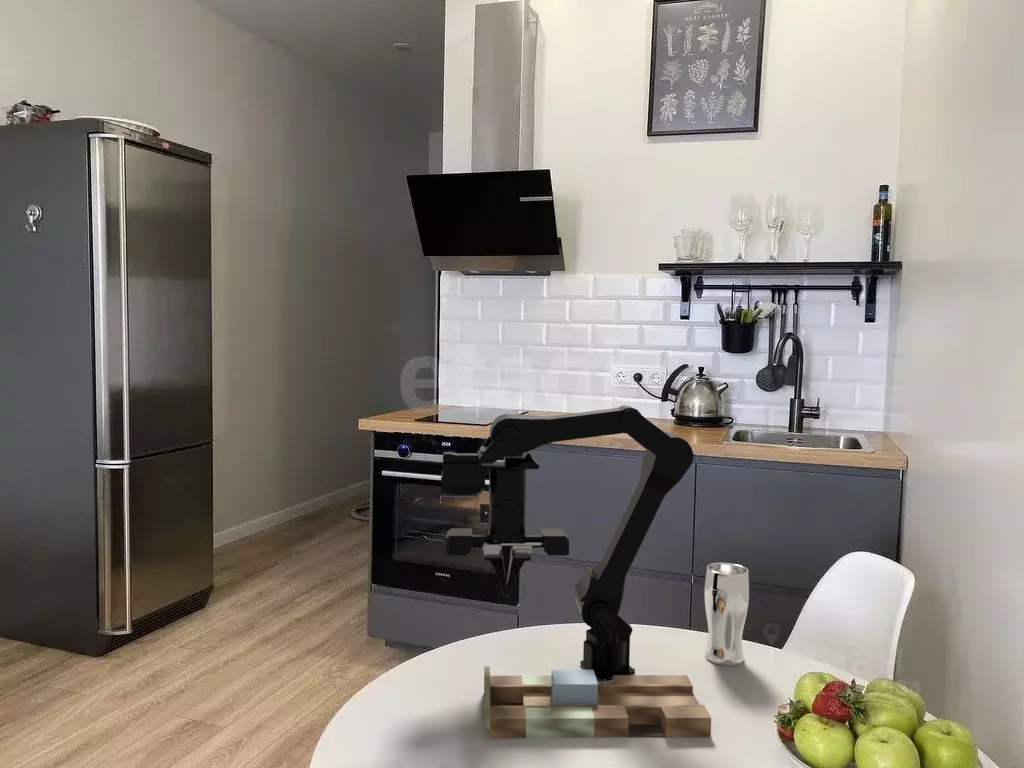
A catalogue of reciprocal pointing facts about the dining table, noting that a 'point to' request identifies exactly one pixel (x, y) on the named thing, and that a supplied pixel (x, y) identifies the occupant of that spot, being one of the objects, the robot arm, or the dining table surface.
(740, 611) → the beer glass
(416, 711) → the dining table surface
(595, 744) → the dining table surface
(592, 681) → the block
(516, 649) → the dining table surface
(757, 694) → the dining table surface
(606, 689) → the tray
